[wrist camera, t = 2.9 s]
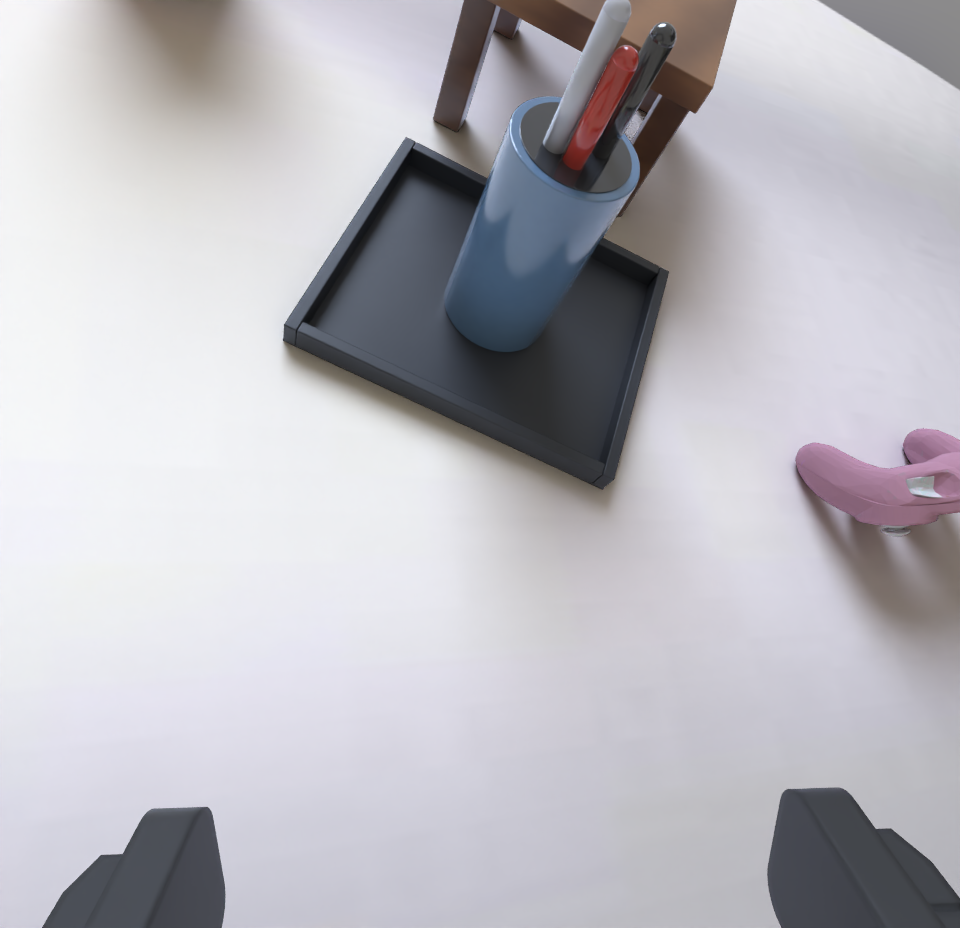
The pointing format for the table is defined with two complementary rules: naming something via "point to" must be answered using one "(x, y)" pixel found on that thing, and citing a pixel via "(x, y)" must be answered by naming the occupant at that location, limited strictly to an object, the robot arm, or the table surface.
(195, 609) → the table surface
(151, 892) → the robot arm
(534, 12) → the stool
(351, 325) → the tray
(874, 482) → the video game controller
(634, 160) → the pen cup
